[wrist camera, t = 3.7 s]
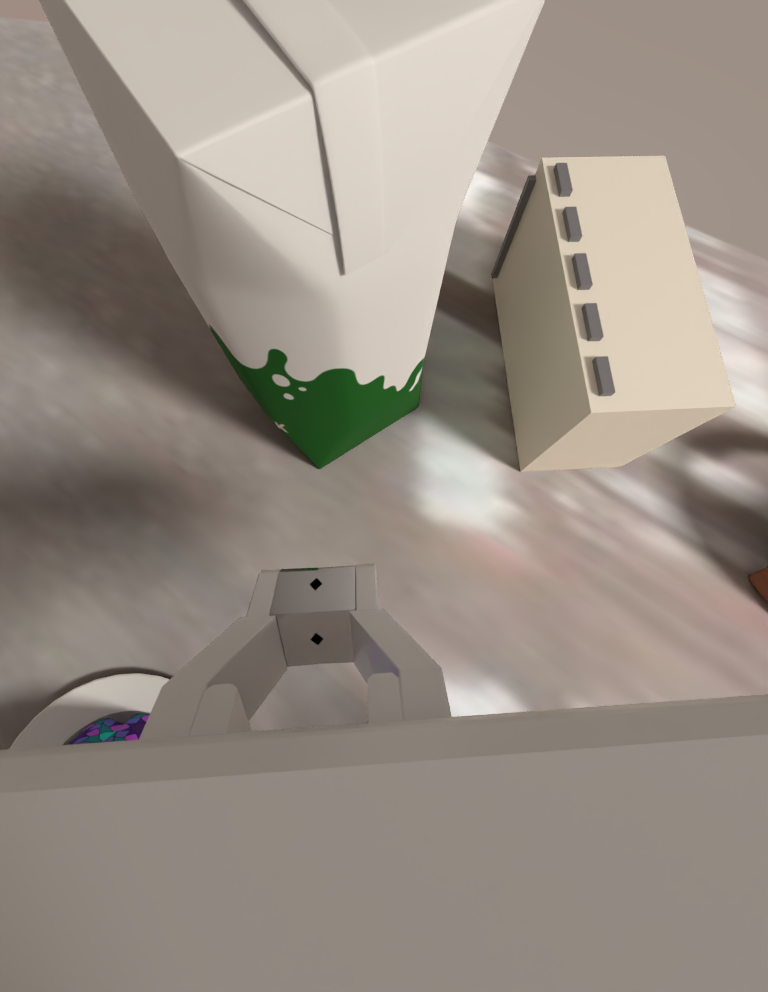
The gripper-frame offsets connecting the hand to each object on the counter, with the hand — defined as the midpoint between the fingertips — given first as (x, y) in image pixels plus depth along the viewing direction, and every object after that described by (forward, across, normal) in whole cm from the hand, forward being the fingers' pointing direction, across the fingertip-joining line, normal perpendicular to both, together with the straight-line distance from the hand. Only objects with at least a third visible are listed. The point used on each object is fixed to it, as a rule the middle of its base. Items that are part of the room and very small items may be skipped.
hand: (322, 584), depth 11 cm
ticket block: (+17, -13, -1) cm, 22 cm away
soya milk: (+17, 0, 0) cm, 17 cm away
